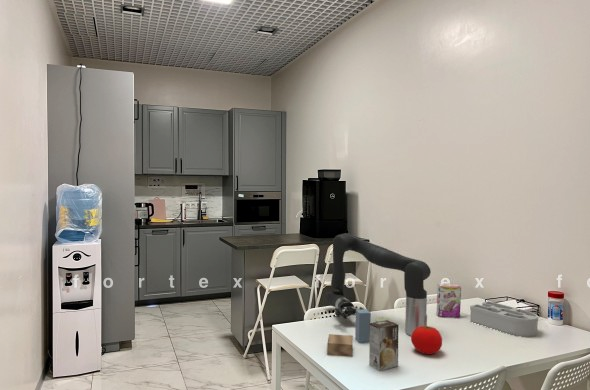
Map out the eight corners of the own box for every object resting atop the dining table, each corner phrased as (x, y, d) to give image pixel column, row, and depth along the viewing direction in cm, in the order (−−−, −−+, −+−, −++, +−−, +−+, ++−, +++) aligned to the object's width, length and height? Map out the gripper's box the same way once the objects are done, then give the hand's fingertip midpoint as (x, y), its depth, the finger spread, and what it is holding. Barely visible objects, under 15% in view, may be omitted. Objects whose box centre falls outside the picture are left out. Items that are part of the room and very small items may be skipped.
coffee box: (387, 360, 164) (388, 319, 164) (398, 366, 159) (399, 324, 158) (368, 364, 160) (369, 322, 160) (379, 371, 154) (380, 327, 154)
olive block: (387, 349, 175) (388, 318, 175) (388, 353, 170) (389, 322, 170) (375, 348, 176) (376, 317, 176) (376, 353, 171) (376, 321, 171)
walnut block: (352, 347, 177) (352, 335, 177) (352, 357, 167) (352, 344, 167) (328, 345, 179) (328, 334, 178) (327, 355, 169) (327, 343, 169)
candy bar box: (438, 317, 218) (439, 285, 218) (436, 314, 223) (436, 283, 223) (460, 318, 217) (461, 286, 217) (457, 315, 222) (458, 284, 222)
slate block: (366, 338, 187) (366, 309, 187) (370, 342, 182) (370, 312, 182) (355, 338, 186) (355, 309, 186) (359, 343, 181) (359, 313, 181)
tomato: (438, 360, 165) (438, 333, 165) (407, 353, 172) (408, 327, 171) (444, 350, 175) (445, 325, 174) (415, 344, 181) (416, 320, 181)
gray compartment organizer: (488, 317, 220) (488, 301, 220) (544, 333, 197) (545, 315, 197) (469, 323, 211) (469, 305, 211) (526, 340, 188) (526, 321, 187)
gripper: (330, 299, 210) (340, 309, 194) (358, 298, 212) (369, 308, 196) (330, 314, 210) (340, 325, 194) (358, 313, 212) (369, 324, 196)
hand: (354, 316), depth 195 cm, fingers open, 8 cm apart
